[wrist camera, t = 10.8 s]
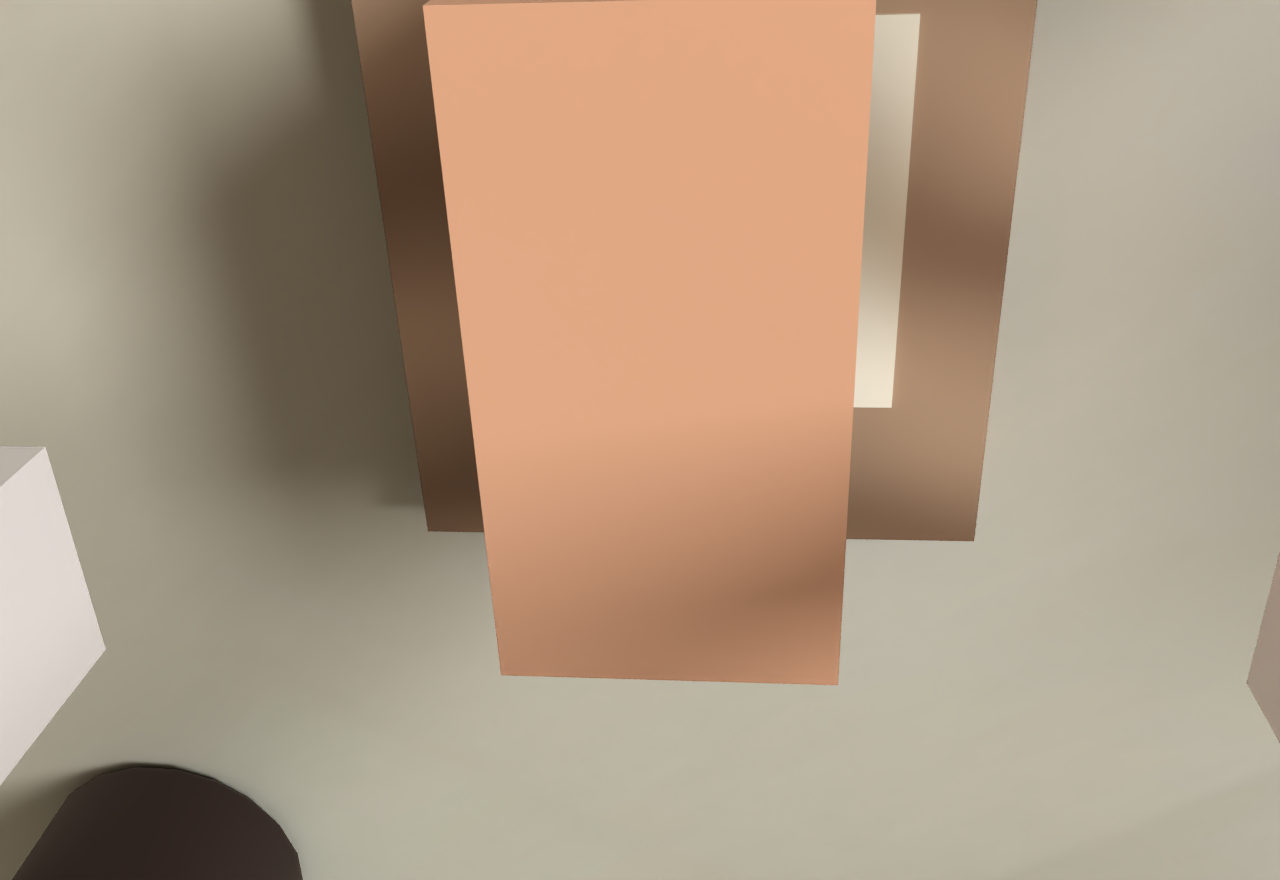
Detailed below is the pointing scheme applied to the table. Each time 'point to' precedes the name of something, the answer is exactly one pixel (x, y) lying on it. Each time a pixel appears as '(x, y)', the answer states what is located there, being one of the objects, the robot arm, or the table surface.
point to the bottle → (160, 833)
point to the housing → (659, 323)
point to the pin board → (890, 271)
